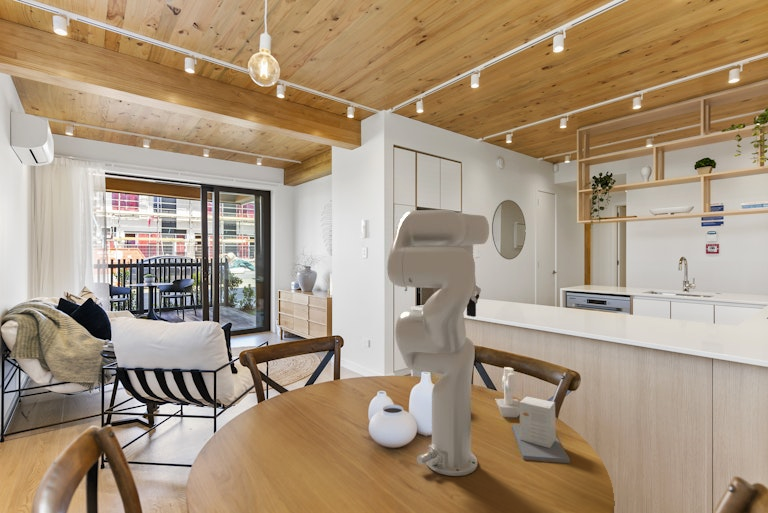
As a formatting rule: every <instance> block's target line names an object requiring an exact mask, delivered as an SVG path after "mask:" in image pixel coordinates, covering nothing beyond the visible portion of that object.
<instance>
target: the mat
mask: <svg viewBox="0 0 768 513" xmlns="http://www.w3.org/2000/svg"><path fill="white" fill-rule="evenodd" d="M511 429H512V433H513V435H514V438H515V441H516V444H517V447H518V449H519V452H520V454H521V458H522V460H525V461H535V462H537V461H538V462H549V463H551V462H552V463H559V464H560V463H561V464H570V463H571V459H570V457H569V455H568V454H567V452H566V450H565V448H564V447H563V445H562V443H561V442H560V440H559V439H558V437H557V436H556V440H555V442H554V443H553V444H552V446H551V447H550V448H548V447H544V446H540V445H537V444H533V443H530V442H526V441H522V440H520V424H519V425H518V424H511Z"/></svg>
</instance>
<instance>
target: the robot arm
mask: <svg viewBox="0 0 768 513" xmlns="http://www.w3.org/2000/svg"><path fill="white" fill-rule="evenodd" d="M489 236H490V224H489V221H488V219H487V217H486V216H485V215H480V214H471V213H469V214H468V213H464V212H463V213H462V212H456V211H455V210H451V209H425V210H424V209H421V210H418V209H417V210H416V209H415V210H409V211H407V212H406V213H404V215H403V216H402V217H401V218H400V220H399V222H398V225H397V227H396V230H395V234H394V237H393V240H392V243H391V248H390V251H389V254H388V258H387V265H386V266H387V267H386V269H387V277H388V279H389V280H390V282H391V283H392V284H393V285H395V286H397V287H401V288H426V289H427V288H429V289H432V288H433V289H438V290H437V291H434V293H433V294H432V295H431V296H430V297H428V299H426V301H425V303H424V305H423V306H422V310H406V311H403V312H402V313H400V315H399V316H398V318H397V320H396V323H395V324H396V325H395V330H394V332H395V333H394V334H395V341H396V345H397V346H396V347H397V348H398V350H399V353H400V355H401V358H402V360H403V362H404V364H405V366H406V367H407V369H409V370H412V371H415V372H421V373H422V372H423V373H424V372H425V373H434V374H435V373H436V374H441V375H442V376H441V377H440V378H439V379H438V380H437V381H436V382H435V384H434V385H433V387H432V390H431V444H429V445H428V450H427V451H426V452H425V453H422V454H419V455H417V456H416V461H417V464H419V465H423V464H426V465H427V467H428V468H430V469H431V470H432V471H434V472H435V473H438V474H441V475H445V476H449V477H450V476H451V477H460V476H462V477H463V476H466V475H469V474H471V473H474V471H475V470H476V469H477V467H478V459H477V457H476V455H475V454H474V453H473V452H472V450H471V449H472V442H471V441H472V434H471V432H472V376H473V369H474V363H475V362H474V361H475V354H476V352H475V351H476V350H475V349H476V348H475V345H474V343H473V341H472V340H471V339H470V338H468V337H467V335H466V334H467V332H466V322H465V315H464V313H465V311H466V316H468V317H473V318H474V317H477V304H478V300H479V298H480V294H481V291H482V288H480V287H479V286H477V285H476V284H477V281H476V262H475V258H474V245H484V244H486V243H487V241H488V239H489Z"/></svg>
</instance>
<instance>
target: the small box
mask: <svg viewBox="0 0 768 513" xmlns="http://www.w3.org/2000/svg"><path fill="white" fill-rule="evenodd" d="M519 403H520V414H519V425H520V440H522V441H526V442H530V443H533V444H537V445H540V446H544V447H548V448H550V447H551V446H552V444H553V443H554V442H555V440H556V437H557V435H556V402H555V401H550V400H546V399H542V398H536V397H532V396H526V395H525V397H524V398H523V399H522V400H520V401H519Z"/></svg>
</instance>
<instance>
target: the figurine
mask: <svg viewBox="0 0 768 513" xmlns="http://www.w3.org/2000/svg"><path fill="white" fill-rule="evenodd" d="M516 378H517V376H516V374H515V373H514V368H512V367H509V366H508V367H507V366H504V367H503V376H502V379H501V390H502V391H503V393H504V394H503V396H504V397H503V398H495V399H494V401H495V403H496V404H497V407H498V410H499V412H500V415H502V417H503V418H518V417H519V416H520V401H519V400H518V399H517V398H514V391H515V389H516V387H517V385H516V383H517V382H516V381H517V379H516Z"/></svg>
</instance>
